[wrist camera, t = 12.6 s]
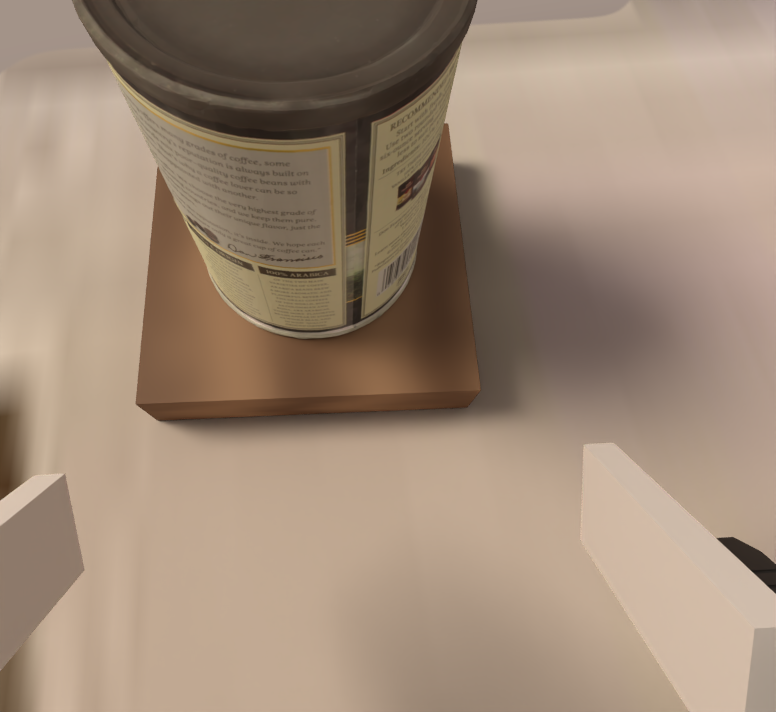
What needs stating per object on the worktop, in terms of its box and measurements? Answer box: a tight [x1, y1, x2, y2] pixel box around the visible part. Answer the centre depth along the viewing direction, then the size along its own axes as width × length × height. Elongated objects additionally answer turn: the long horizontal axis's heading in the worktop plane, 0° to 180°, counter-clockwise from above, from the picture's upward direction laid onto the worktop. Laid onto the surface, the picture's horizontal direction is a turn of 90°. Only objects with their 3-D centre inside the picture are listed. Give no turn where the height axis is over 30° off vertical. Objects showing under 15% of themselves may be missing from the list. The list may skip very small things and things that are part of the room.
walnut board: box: [136, 124, 481, 420], centre depth 29 cm, size 15×15×3 cm
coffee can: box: [72, 0, 477, 339], centre depth 21 cm, size 10×10×14 cm
